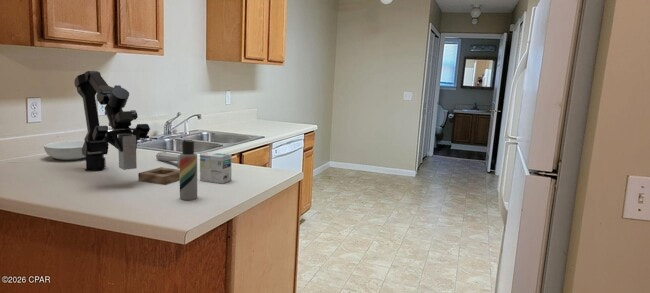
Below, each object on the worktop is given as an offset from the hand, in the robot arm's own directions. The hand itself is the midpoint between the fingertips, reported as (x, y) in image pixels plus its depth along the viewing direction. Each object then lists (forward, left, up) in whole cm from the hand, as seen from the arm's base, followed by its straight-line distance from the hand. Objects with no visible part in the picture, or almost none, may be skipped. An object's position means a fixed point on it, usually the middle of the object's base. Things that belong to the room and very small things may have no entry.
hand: (128, 150), depth 157 cm
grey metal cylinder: (+13, +40, -14) cm, 45 cm away
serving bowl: (-32, +57, -14) cm, 67 cm away
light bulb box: (+31, +7, -14) cm, 34 cm away
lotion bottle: (+21, -17, -14) cm, 30 cm away
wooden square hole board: (+11, +11, -13) cm, 20 cm away
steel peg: (-1, +1, -7) cm, 7 cm away
